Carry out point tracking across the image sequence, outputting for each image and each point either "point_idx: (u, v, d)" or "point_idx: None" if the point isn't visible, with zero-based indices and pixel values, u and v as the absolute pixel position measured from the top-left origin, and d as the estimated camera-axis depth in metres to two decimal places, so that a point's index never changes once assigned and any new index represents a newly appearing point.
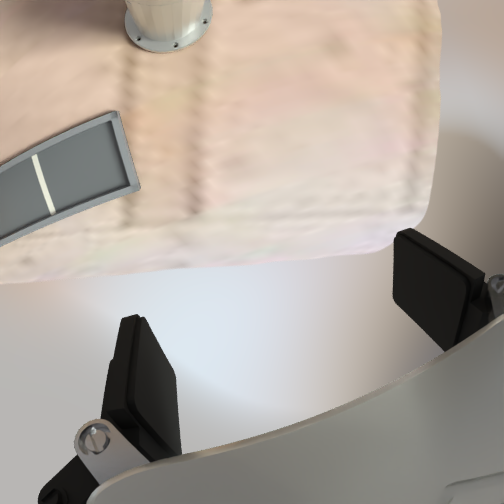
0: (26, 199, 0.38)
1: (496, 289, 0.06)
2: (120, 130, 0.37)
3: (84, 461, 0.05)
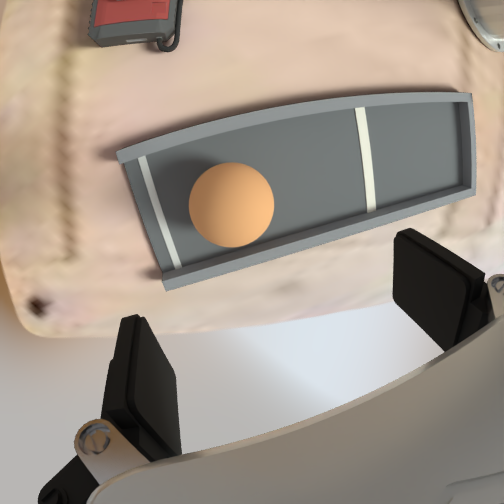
0: (329, 179, 0.25)
1: (496, 289, 0.06)
2: (473, 118, 0.24)
3: (84, 461, 0.05)
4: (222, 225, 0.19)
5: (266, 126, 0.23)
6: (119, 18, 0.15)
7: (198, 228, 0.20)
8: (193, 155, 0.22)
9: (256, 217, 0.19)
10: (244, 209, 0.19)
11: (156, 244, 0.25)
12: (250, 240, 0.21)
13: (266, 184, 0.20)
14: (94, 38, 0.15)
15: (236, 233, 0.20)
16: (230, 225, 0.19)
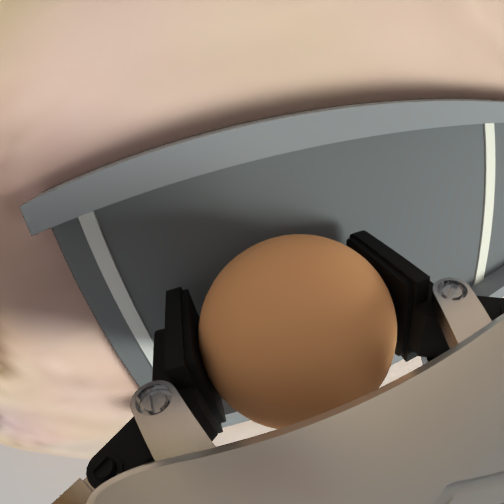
0: (443, 241, 0.13)
1: (444, 295, 0.07)
2: None
3: (144, 422, 0.06)
4: (294, 421, 0.07)
5: (360, 141, 0.10)
6: None
7: None
8: (203, 205, 0.10)
9: (373, 390, 0.07)
10: (354, 390, 0.06)
11: (137, 370, 0.12)
12: None
13: (391, 298, 0.08)
14: None
15: None
16: None
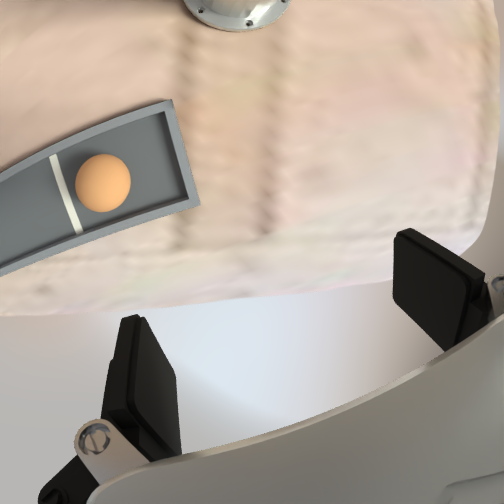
0: (42, 213, 0.30)
1: (496, 289, 0.06)
2: (177, 125, 0.29)
3: (84, 461, 0.05)
4: (86, 195, 0.26)
5: (1, 185, 0.27)
6: None
7: (79, 199, 0.27)
8: None
9: (106, 189, 0.26)
10: (97, 185, 0.25)
11: None
12: (108, 206, 0.27)
13: (118, 167, 0.27)
14: None
15: (95, 200, 0.26)
16: (90, 195, 0.26)
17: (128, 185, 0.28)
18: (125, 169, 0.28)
